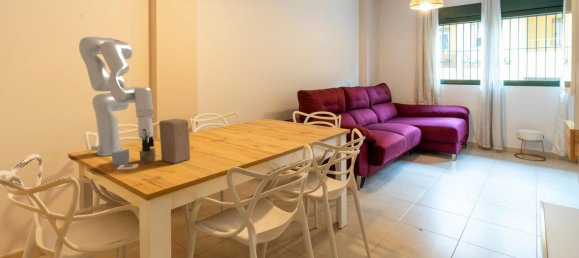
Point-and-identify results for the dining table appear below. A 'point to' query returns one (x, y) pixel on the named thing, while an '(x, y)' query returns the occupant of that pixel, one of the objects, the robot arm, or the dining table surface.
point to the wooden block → (174, 140)
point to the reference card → (128, 166)
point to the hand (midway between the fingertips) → (148, 148)
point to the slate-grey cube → (121, 157)
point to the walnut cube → (148, 156)
